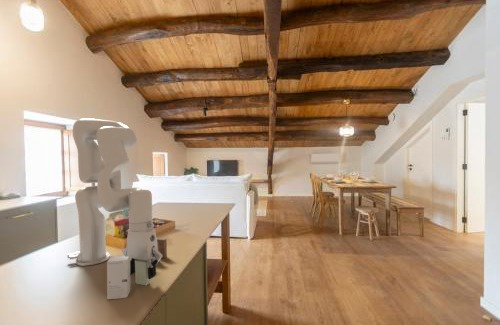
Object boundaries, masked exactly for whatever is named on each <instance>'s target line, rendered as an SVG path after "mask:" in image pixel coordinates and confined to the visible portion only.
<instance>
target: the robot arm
mask: <svg viewBox="0 0 500 325" xmlns="http://www.w3.org/2000/svg"><path fill="white" fill-rule="evenodd" d="M72 138H73V140H74V143H75V146H76V149H77V166H78V178H79V181H80V182H82V183H84V184H94V183H95V184H96V185H90V186H85V187H81V188H79V189H78V190H76V192H75V196H74V199H75V205H76V209H77V213H78V214H77V215H78V231H79V233H78V235H79V237H78V238H79V250H78V251H76V252H70V253H67V255H66V256H67V259H69V260H74V259H75V264H76V265H77V266H80V267H81V266H83V267H85V266H86V267H88V266H92V265H93V266H94V265H98V264H101V263H104V262H106V261H108V260H109V259H110V257H111V253H109V252H108V251H107V243H106V219H105V218H106V217H105V215H104V214H103V213H102V211H100V208H103V209H104V210H105V211H106V212H109V213H113V212H114V213H115V212H120V211H125V210H128V228H129V229H128V231H127V238H126V247H124V248H123V249H122V250H121V253H122V254H123V256H126V255H130V276H132V275H135V259H140V260H146V261H147V263H148V265H149V268H148V279H149V280H151V279H153V278H154V277H156V275H157V265H158V264H159V262H161V260H162V259H163V258H162V254H161V253H160V252H159V251H158V245H157V238H158V237H157V233H156V230H155V228H154V227H155V224H154V223H153V194H152V192H151V191H150V189H142V188H140V187H128V188H127V187H125V188H122V172H121V171H122V170H123V169H124V168H126V167H127V166H128V165H129V163H130V160H129V156H128V153H127V150H126V149H131V148H134V147H135V146H136V144H137V135H136V133H135V131H134V130H133V128H131V127H129V126H127V125H126V124H123V123H122V122H119V121H116V120H115V121H114V120H107V119H99V118H98V119H97V118H96V119H95V118H80V119H77V120H75V122H74V123H73V125H72ZM95 140H96V141H95ZM150 256H151V257H150ZM154 256H156V259H155V257H154ZM150 259H152V261H153V262H151V260H150Z"/></svg>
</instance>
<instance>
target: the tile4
mask: <svg viewBox="0 0 500 325" xmlns="http://www.w3.org/2000/svg"><path fill="white" fill-rule="evenodd" d="M157 243H159V252H160V253H161V254H162V258H161V259H166V258H168V254H167V252H168V248H167V238H161V237H160V238H159V237H157Z"/></svg>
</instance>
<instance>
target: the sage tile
mask: <svg viewBox="0 0 500 325" xmlns="http://www.w3.org/2000/svg"><path fill="white" fill-rule="evenodd" d="M148 268H149V265H148V263H147V261H146V260H140V259H137V260H136V261H135V273H134V276H135V277H134V278H135V284H138V285H142V286H147V285H149V284H150V279H148Z"/></svg>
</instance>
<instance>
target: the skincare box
mask: <svg viewBox="0 0 500 325" xmlns="http://www.w3.org/2000/svg"><path fill="white" fill-rule="evenodd" d="M106 263H107V264H106V268H107V270H106V271H107V272H106V273H107V274H106V278H107V279H106V284H107V286H106V290H107V291H106V299H107V300H116V299H117V300H118V299H125V298H128V296H129V294H130V292H131V275H130V255H126V256H124V255H114V256H113V255H112V256H111V255H110V258H109V259H108V260H107V262H106Z"/></svg>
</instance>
